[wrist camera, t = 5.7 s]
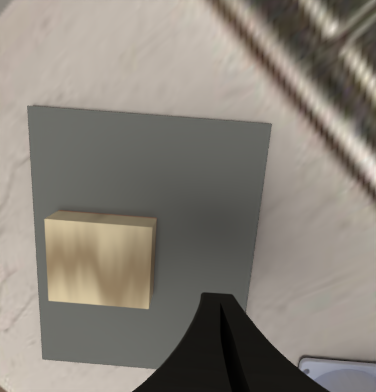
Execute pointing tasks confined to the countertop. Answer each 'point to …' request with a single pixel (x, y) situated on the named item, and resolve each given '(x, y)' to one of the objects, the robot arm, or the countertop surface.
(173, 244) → the mat
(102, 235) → the tile
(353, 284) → the countertop surface
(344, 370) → the robot arm
